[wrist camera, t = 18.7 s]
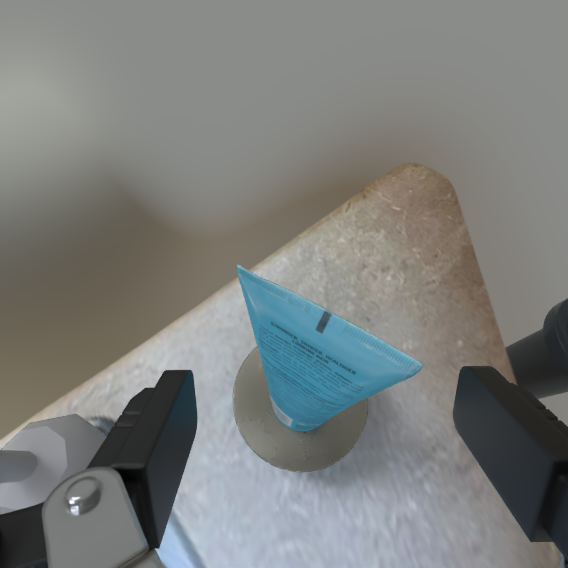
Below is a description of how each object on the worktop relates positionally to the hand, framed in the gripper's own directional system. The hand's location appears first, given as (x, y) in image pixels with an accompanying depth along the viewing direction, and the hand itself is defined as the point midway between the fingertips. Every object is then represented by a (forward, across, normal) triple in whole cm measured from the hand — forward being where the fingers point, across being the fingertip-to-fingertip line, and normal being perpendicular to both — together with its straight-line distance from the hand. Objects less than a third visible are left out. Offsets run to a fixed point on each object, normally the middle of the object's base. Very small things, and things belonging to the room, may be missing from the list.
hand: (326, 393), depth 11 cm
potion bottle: (+18, -22, -21) cm, 36 cm away
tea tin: (+22, 0, -18) cm, 28 cm away
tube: (+16, 0, -12) cm, 20 cm away
